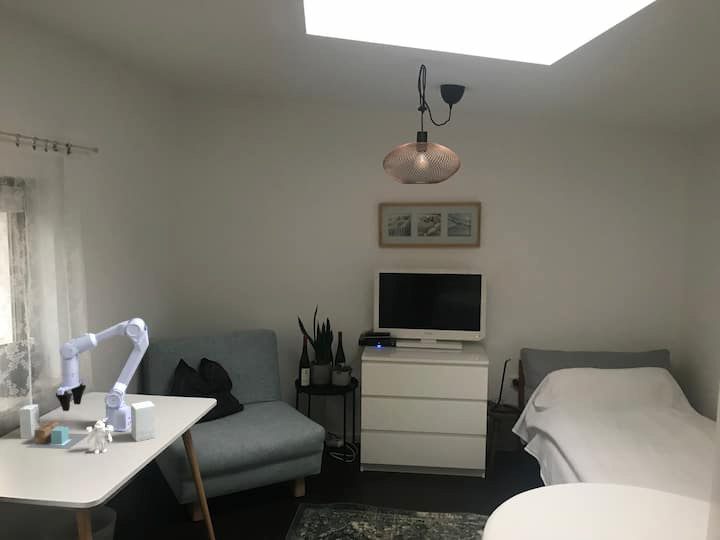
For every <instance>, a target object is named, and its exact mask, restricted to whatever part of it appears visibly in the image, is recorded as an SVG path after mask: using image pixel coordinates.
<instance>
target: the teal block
mask: <svg viewBox="0 0 720 540" xmlns="http://www.w3.org/2000/svg"><path fill="white" fill-rule="evenodd" d="M68 433H69V426H59V427H56V428H54V429H52V430H51V444H63V443H65V442H66V441H68Z"/></svg>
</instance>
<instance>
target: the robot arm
mask: <svg viewBox="0 0 720 540" xmlns="http://www.w3.org/2000/svg"><path fill="white" fill-rule="evenodd" d="M117 335H120V336H122V337H125V336H127V337H128V338H129V339H130V340H131V341H132V343H133V345H134V347H133V349H132V351H131V353H130V354H129V357H128V359H127V361H126V363H125V364H124V367H123V368H122V370H121V372H120V374H119V376H118V378H117V380H116V382H115V383H114V386H113V387H111V388H110V389H109V391H108V393H107V394H106V396H105V397H104V403H105V418H107V417H108V419H107V420H106V421H105V428H107V425H110V426H111V425H112V426H113V432H126V431H127V430H128V429H131V405H127V404H126V401H125V400H124V398H125V396H126V390H127V388H128V386H129V383H130V381H131V380H132V378H133V376H134V374H135V372H136V370H137V368H138V366H139V364H140V362H141V361H142V359H143V357H144V355H145V353H146V351H147V349H148V347H149V343H150V342H149V334H148V326H147V325H146V323H145V321H144V320H143V319H142V318H139V317H135V318H134V317H133V318H132V319H129V320H126V321H125V320H124V321H122V322H120V323H117V324H115V325H113V326H111V327H109V328H106V329H104V330H102V331H100V332H98V333H96V334H95V333H91V332H89V333H88V332H85V333H84V334H83V335H82V336H79V337H78V338H73V339H71V340H70V341H67V342H66V343H64V344H63V345H62V346H61V347H60V349H59V355H60V356H61V375H62V377H61V378H62V383H60V384H59V388H57V389H56V393H55V397H56V398H57V399H58V401H59V404H60V406H61V409H62V411H63V412H69V411H70V407H71V399H72V398H73V399H72V400H73V404H74V405H78V406H80V405H81V403H82V398H83V394H84V392H85V389H86V388H87V385H86V384H84V383H85V381H84V379H83V378H80V372H79V358H78V357H79V356H78V355H79V354H82V353H84V352H87V351H90V350H91V349H94V348H96V347H97V346H98V343H99V342H102V341H104V340H106V339H110V338H112V337H116V336H117ZM69 391H71V393H69Z"/></svg>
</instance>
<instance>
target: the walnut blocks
mask: <svg viewBox="0 0 720 540" xmlns="http://www.w3.org/2000/svg"><path fill="white" fill-rule="evenodd" d="M56 427H60V422H59V421H47V422H46V423H44V424H42V425H40V427H39V428H37V429H35V430H34V435H35V437H34V442H35V444H46V443H48V442H49V441H51V430H52V429H54V428H56Z"/></svg>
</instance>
